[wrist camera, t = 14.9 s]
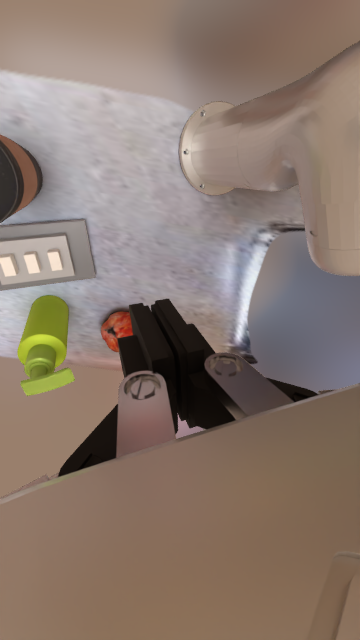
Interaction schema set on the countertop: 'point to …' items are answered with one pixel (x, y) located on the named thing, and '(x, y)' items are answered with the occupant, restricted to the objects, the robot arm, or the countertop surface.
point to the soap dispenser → (45, 346)
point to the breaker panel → (74, 242)
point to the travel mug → (17, 178)
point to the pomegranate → (116, 329)
